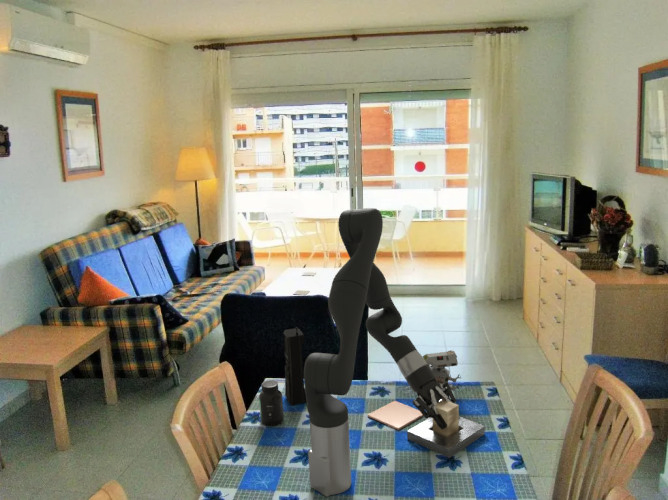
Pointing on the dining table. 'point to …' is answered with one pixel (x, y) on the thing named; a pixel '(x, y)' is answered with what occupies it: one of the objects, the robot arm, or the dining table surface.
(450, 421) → the beech peg
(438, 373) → the figurine
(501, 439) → the dining table surface
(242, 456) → the dining table surface
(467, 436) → the socket block
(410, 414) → the terracotta tile
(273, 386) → the supplement bottle
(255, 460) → the dining table surface
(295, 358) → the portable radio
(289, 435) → the dining table surface
